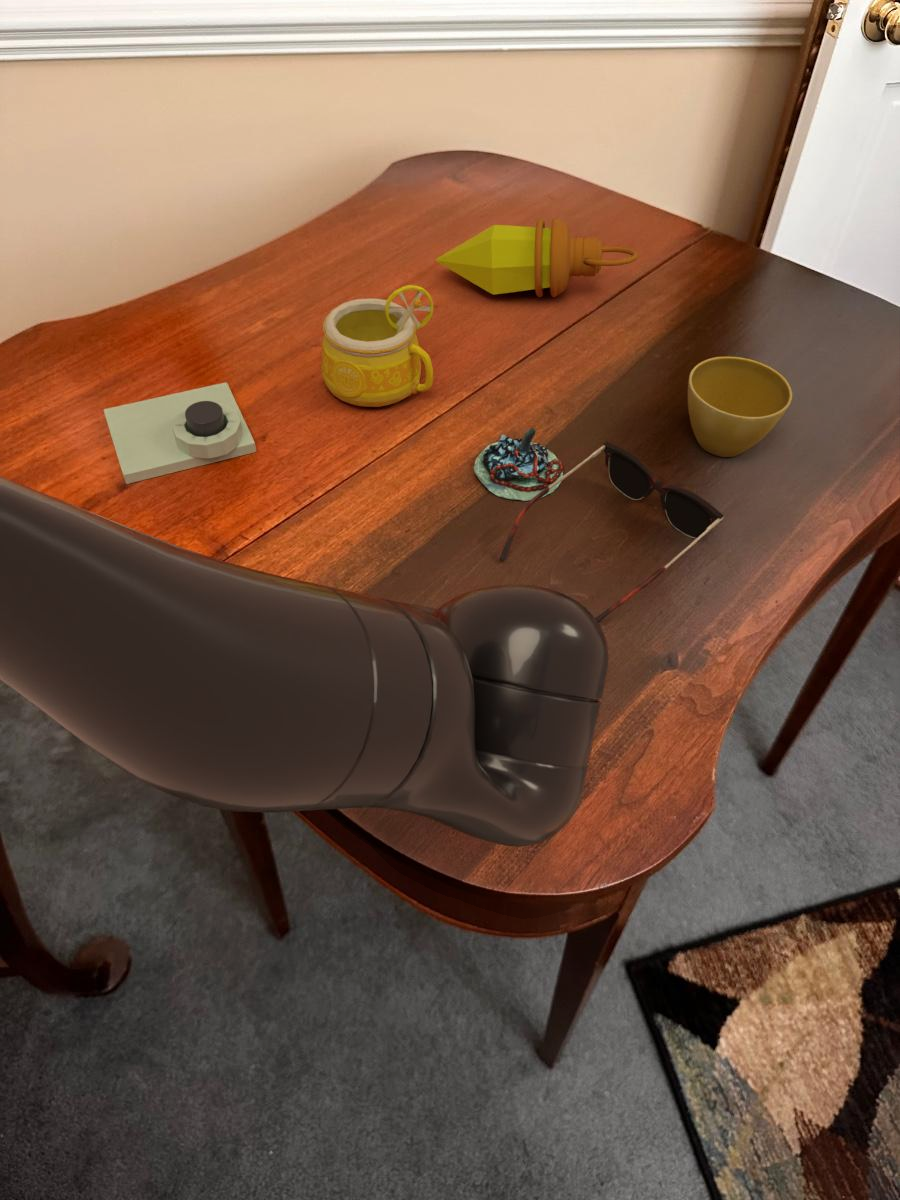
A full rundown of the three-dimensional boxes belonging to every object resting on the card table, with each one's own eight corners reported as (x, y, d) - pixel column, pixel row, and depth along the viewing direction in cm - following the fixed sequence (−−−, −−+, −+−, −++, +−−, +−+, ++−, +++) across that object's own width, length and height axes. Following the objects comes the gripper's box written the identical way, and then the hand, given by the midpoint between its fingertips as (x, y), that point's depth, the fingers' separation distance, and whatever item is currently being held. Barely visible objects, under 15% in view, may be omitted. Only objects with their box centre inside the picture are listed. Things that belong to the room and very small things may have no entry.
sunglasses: (713, 549, 81) (726, 512, 77) (601, 647, 75) (608, 612, 71) (600, 475, 88) (607, 437, 84) (487, 559, 81) (489, 522, 77)
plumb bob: (430, 308, 108) (636, 305, 104) (425, 230, 102) (641, 224, 98) (441, 286, 115) (634, 283, 111) (437, 213, 110) (639, 207, 106)
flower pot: (736, 488, 87) (758, 431, 82) (654, 441, 91) (669, 384, 86) (787, 443, 92) (811, 386, 86) (706, 400, 96) (724, 344, 91)
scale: (127, 489, 84) (119, 465, 82) (106, 418, 91) (98, 394, 89) (258, 456, 88) (254, 433, 85) (228, 390, 95) (224, 367, 92)
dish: (531, 412, 90) (538, 416, 82) (565, 472, 91) (575, 481, 84) (465, 454, 91) (466, 461, 83) (500, 511, 92) (504, 524, 85)
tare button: (193, 441, 85) (189, 427, 84) (184, 419, 87) (181, 405, 86) (229, 432, 86) (226, 418, 85) (220, 411, 88) (217, 397, 87)
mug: (303, 398, 94) (292, 297, 85) (353, 347, 101) (347, 248, 92) (409, 433, 91) (409, 332, 82) (453, 377, 98) (457, 278, 88)
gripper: (308, 768, 50) (273, 717, 66) (529, 688, 54) (445, 659, 70) (271, 644, 49) (244, 624, 65) (498, 572, 53) (420, 570, 69)
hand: (349, 642), depth 68 cm, fingers closed on pill bottle, 4 cm apart
